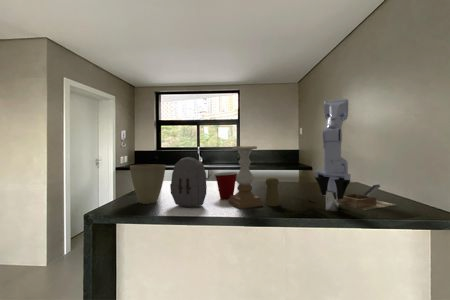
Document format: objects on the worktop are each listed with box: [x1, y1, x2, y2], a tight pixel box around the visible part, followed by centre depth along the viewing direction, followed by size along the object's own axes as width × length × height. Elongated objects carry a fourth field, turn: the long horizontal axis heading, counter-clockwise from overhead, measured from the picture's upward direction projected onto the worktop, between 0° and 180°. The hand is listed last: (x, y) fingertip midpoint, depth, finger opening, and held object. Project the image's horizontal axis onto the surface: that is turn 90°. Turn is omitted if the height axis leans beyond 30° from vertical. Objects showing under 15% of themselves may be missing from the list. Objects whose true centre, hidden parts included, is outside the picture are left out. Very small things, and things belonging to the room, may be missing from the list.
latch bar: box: [362, 184, 381, 197], centre depth 106 cm, size 9×3×1 cm
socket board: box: [338, 193, 397, 211], centre depth 103 cm, size 14×18×4 cm
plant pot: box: [129, 163, 166, 205], centre depth 114 cm, size 15×15×16 cm
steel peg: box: [325, 190, 339, 212], centre depth 98 cm, size 4×4×7 cm
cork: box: [264, 177, 281, 207], centre depth 107 cm, size 6×6×11 cm
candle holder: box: [227, 145, 264, 210], centre depth 107 cm, size 11×11×24 cm
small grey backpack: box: [169, 156, 208, 208], centre depth 104 cm, size 15×8×20 cm, turn 72°
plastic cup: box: [213, 171, 239, 201], centre depth 119 cm, size 11×11×12 cm
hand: (332, 196), depth 98 cm, fingers open, 7 cm apart
